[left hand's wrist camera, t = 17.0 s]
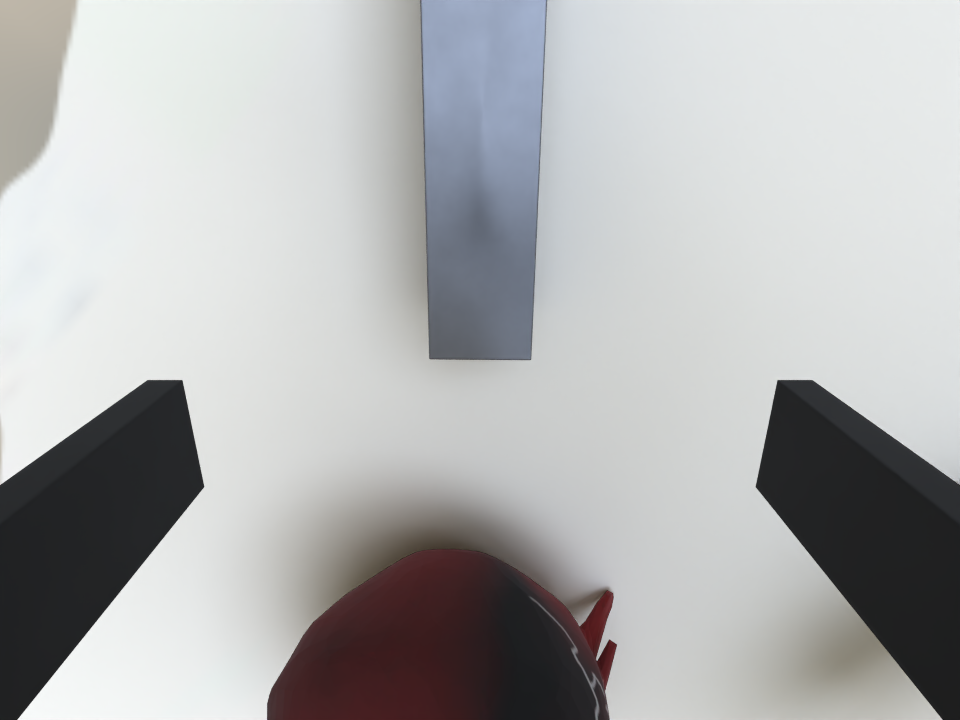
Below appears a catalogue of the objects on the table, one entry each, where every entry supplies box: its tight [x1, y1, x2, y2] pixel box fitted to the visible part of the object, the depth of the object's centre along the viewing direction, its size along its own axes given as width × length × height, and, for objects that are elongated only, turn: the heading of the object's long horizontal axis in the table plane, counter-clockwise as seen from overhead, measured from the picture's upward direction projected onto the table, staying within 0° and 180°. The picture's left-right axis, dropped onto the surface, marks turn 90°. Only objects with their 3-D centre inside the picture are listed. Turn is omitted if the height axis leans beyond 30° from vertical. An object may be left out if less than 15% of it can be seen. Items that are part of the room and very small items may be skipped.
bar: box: [420, 0, 547, 360], centre depth 28 cm, size 24×5×8 cm, turn 179°
